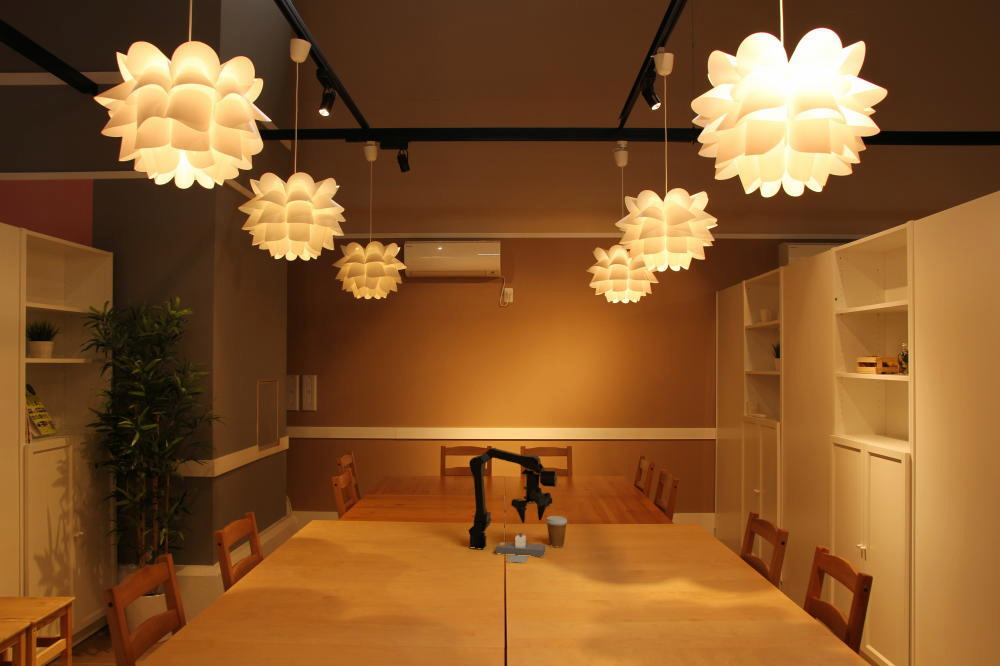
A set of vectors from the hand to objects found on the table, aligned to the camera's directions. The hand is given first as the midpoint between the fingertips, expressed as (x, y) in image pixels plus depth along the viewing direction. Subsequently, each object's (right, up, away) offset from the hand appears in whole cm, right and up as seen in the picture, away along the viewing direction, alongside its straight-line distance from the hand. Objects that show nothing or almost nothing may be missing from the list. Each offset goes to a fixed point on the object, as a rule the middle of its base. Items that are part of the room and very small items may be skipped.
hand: (531, 521), depth 262 cm
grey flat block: (-5, -13, -2) cm, 14 cm away
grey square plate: (-7, -12, -12) cm, 18 cm away
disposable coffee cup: (+12, -14, +9) cm, 20 cm away
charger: (-5, -13, -2) cm, 14 cm away
